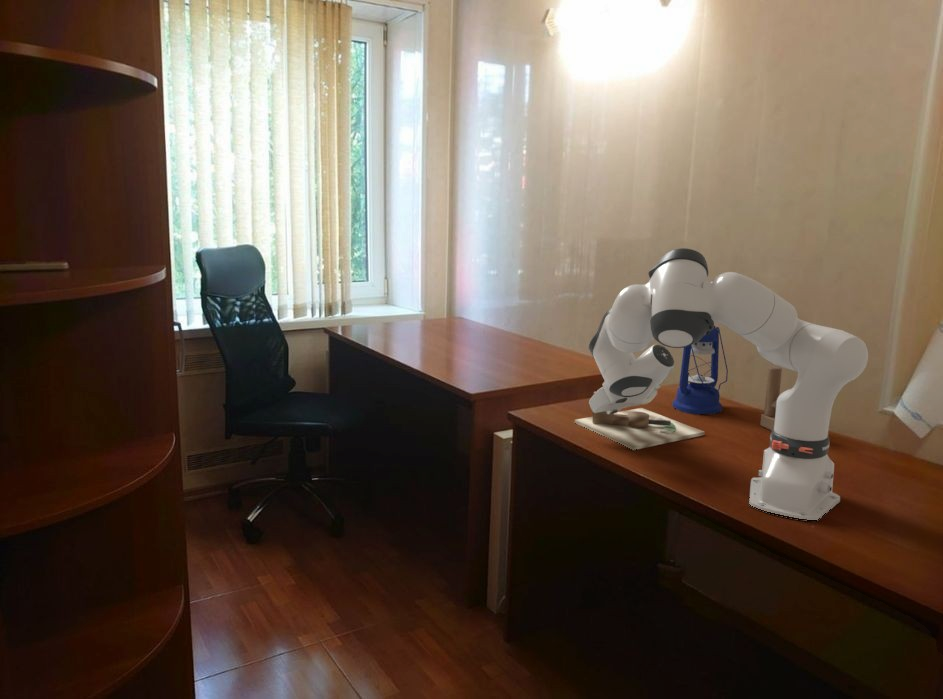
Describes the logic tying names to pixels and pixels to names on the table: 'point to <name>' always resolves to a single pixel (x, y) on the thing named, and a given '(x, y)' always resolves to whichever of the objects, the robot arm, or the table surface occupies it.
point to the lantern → (700, 378)
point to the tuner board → (642, 431)
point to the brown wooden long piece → (627, 419)
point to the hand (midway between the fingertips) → (610, 411)
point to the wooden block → (771, 397)
